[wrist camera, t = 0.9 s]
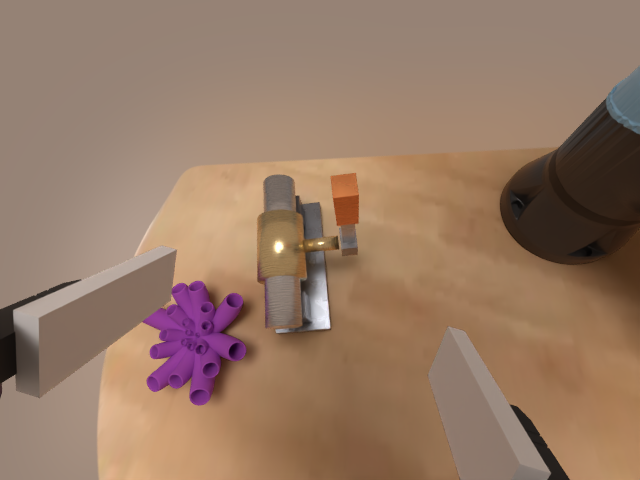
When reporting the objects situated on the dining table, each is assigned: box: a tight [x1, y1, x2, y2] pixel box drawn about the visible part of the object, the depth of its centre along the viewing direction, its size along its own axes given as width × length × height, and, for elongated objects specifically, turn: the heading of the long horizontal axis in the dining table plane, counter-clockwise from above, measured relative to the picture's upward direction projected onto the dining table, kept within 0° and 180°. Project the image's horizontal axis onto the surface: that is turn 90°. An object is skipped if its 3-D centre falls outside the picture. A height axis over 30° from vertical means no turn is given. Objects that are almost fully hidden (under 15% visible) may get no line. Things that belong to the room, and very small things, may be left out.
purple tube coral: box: [142, 281, 246, 405], centre depth 38 cm, size 11×15×10 cm
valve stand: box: [257, 175, 339, 334], centre depth 39 cm, size 18×10×11 cm, turn 4°
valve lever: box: [331, 173, 359, 256], centre depth 31 cm, size 3×2×14 cm
